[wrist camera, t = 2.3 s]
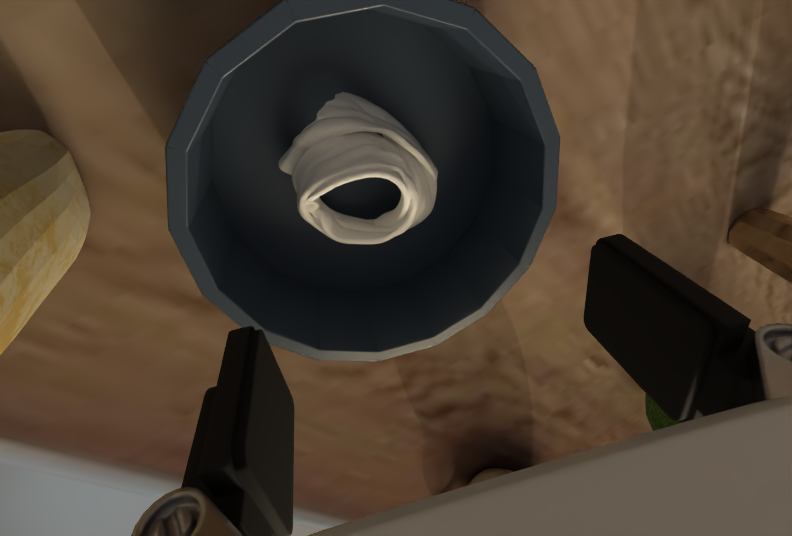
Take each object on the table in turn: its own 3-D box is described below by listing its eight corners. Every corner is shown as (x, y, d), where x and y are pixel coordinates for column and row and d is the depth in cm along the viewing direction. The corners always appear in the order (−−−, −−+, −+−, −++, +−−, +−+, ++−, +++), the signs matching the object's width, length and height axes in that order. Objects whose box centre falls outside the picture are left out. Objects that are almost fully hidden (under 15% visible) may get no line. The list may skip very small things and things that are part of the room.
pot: (261, 322, 25) (254, 396, 21) (132, 30, 17) (67, 37, 12) (502, 260, 27) (549, 315, 22) (497, -37, 18) (573, -56, 13)
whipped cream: (447, 156, 23) (493, 182, 19) (383, 254, 25) (412, 297, 21) (323, 67, 19) (347, 76, 15) (255, 192, 21) (260, 230, 17)
